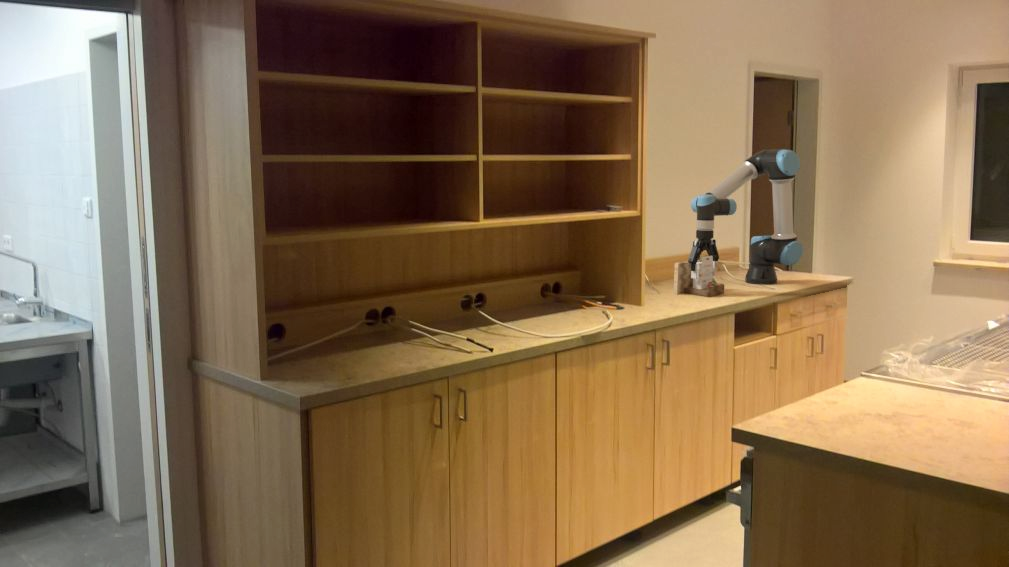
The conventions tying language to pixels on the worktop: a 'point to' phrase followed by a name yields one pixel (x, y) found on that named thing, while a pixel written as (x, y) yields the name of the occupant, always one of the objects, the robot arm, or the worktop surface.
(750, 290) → the worktop surface
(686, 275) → the brown wooden bookend
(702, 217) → the robot arm
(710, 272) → the ink cartridge box
